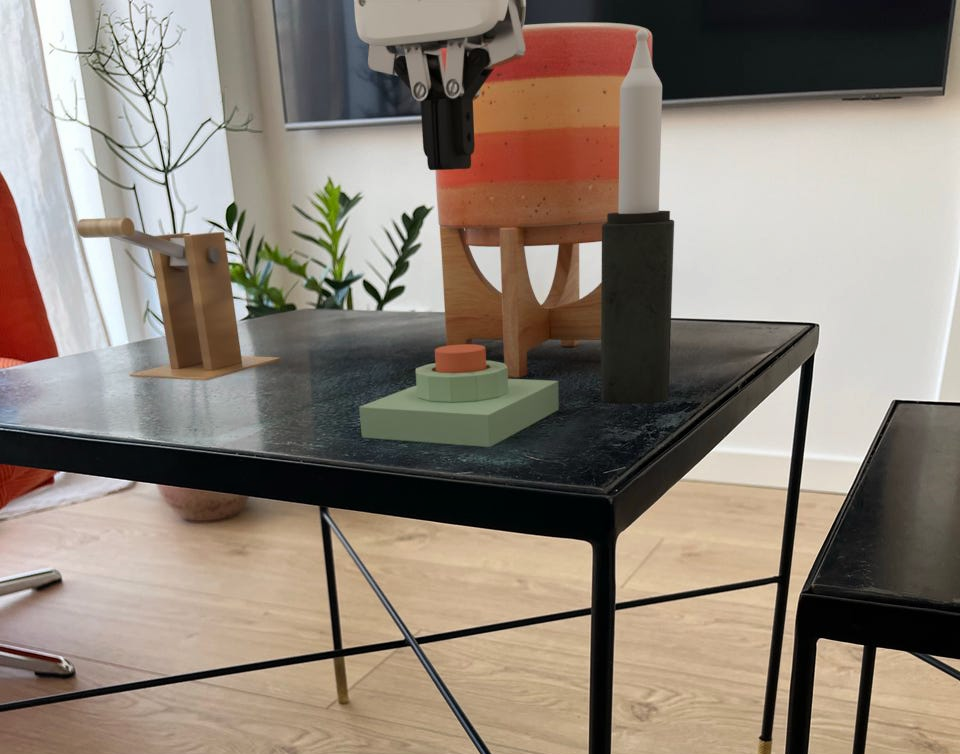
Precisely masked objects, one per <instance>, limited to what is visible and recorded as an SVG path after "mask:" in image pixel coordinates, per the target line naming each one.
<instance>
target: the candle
mask: <svg viewBox="0 0 960 754" xmlns="http://www.w3.org/2000/svg"><path fill="white" fill-rule="evenodd" d="M647 38H648V33H647V31H646V30H645V29H640V30H639V31H638V32H637V34H636V39H637V45H636V48H635V52H634V56H633V59H632V63H631V67H630V70H629V72H628V74H627V76H626V77H625V79H624V81H623V83H622V85H621V87H620V130H619V212H618V213H608V214H607V223H605V224H603V225H602V241H601V282H602V285H601V340H600V401H601V402H602V403H606V404H660V403H665V402H667V401H668V394H669V393H670V390H669V389H670V365H671V364H670V363H671V362H670V361H671V335H672V334H671V333H672V332H671V330H672V301H673V274H674V273H673V271H674V270H673V269H674V267H673V266H674V246H675V245H674V243H675V242H674V239H675V220H674V219H671V210H660V187H661V185H660V183H661V147H662V114H663V113H662V110H663V109H662V108H663V84H662V81H661V79H660V77H659V76H658V74H657V72H656V71H655V69H654V66H653V60H652V61H651V57H650V53H649V49H648V45H647Z"/></svg>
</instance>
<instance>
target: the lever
mask: <svg viewBox="0 0 960 754" xmlns="http://www.w3.org/2000/svg"><path fill="white" fill-rule="evenodd" d="M76 231H77V234H78V235H79V236H80V237H82V238H83V239H94V238H95V239H97V238H99V239H100V238H111V239H115V240H117V241H121V242H124V243H127V244H130V245H134V246H137V247H140V248H143V249H146V250H148V251H151V250H152V251H155V252H158V253H162V254H165V255H168V256H170V266H172V267H175V268H178V269H182V270H185V271H188V272H189V269H188V262H187V256H186V249H185V243H184V238H171V239H170V241H167V240H164V239H161V238H158V237H155V236H156V235H153V234H149V233H146V232H144V231H140V230H137V229H136V228H135V224H134V221H133V220H132V219H131V218H129V217H104V218H103V217H102V218H81V219H79V220H78V221H77V223H76Z"/></svg>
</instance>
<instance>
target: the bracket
mask: <svg viewBox="0 0 960 754" xmlns="http://www.w3.org/2000/svg"><path fill="white" fill-rule="evenodd" d="M225 235H226V234H225V231H214V232H203V233H193V234H191V233H190V232H179V233H168V234H157V235H154V236H155V237H158V238H161V239H164V240H167V241H170V239H171V238H184V243H185V249H186V256H187V262H188V269H189V272H188V271H185V270H182V269H178V268H175V267H172V266H170V256H168V255H165V254H162V253H158V252H155V251H152V250H150V251H151V252H150V253H151V258H152V265H153V270H154V275H155V281H156V282H155V283H156V288H157V294H158V301H159V305H160V311H161V317H162V324H163V329H164V335H165V341H166V347H167V353H168V359H169V364H165V365H161V366H156V367H152V368H149V369H144V370H141V371H137V372H133V373H132V372H131V373H130V374H129V377H132V378H149V379H150V378H151V379H168V380H169V379H170V380H171V379H172V380H191V381H210V380H213V379H217V378H220V377H223V376H224V377H225V376H227V375H231V374H234V373H239V372H241V371H245V370H249V369H252V368H256V367H260V366H263V365H267V364H270V363H274V362H279V361H281V357H273V356H249V355H247V356H246V355H242V351H241V343H240V336H239V330H238V323H237V316H236V307H235V301H234V292H233V286H232V280H231V271H230V265H229V258H228V257H229V256H228V249H227V243H226V236H225Z"/></svg>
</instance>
